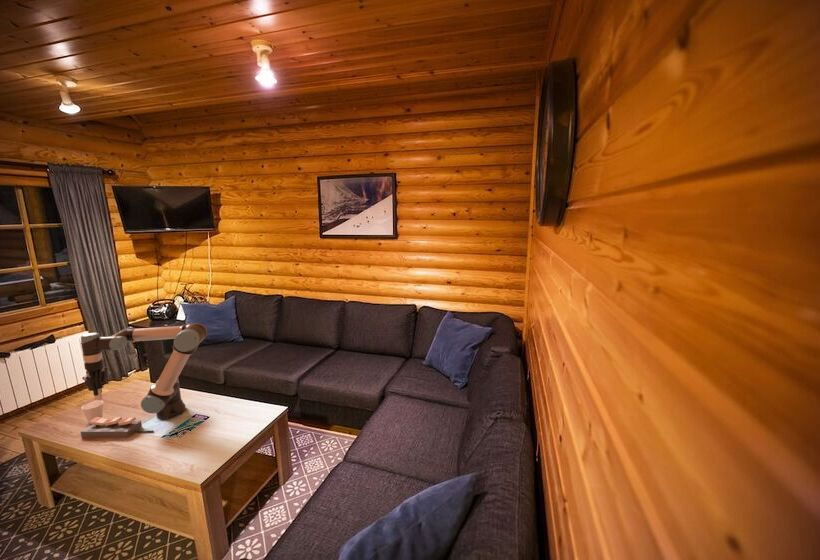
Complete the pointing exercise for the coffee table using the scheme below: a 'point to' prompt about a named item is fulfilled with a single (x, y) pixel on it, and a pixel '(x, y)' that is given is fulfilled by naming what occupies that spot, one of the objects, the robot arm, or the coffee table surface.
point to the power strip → (112, 430)
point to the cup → (93, 410)
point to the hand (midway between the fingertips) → (98, 399)
